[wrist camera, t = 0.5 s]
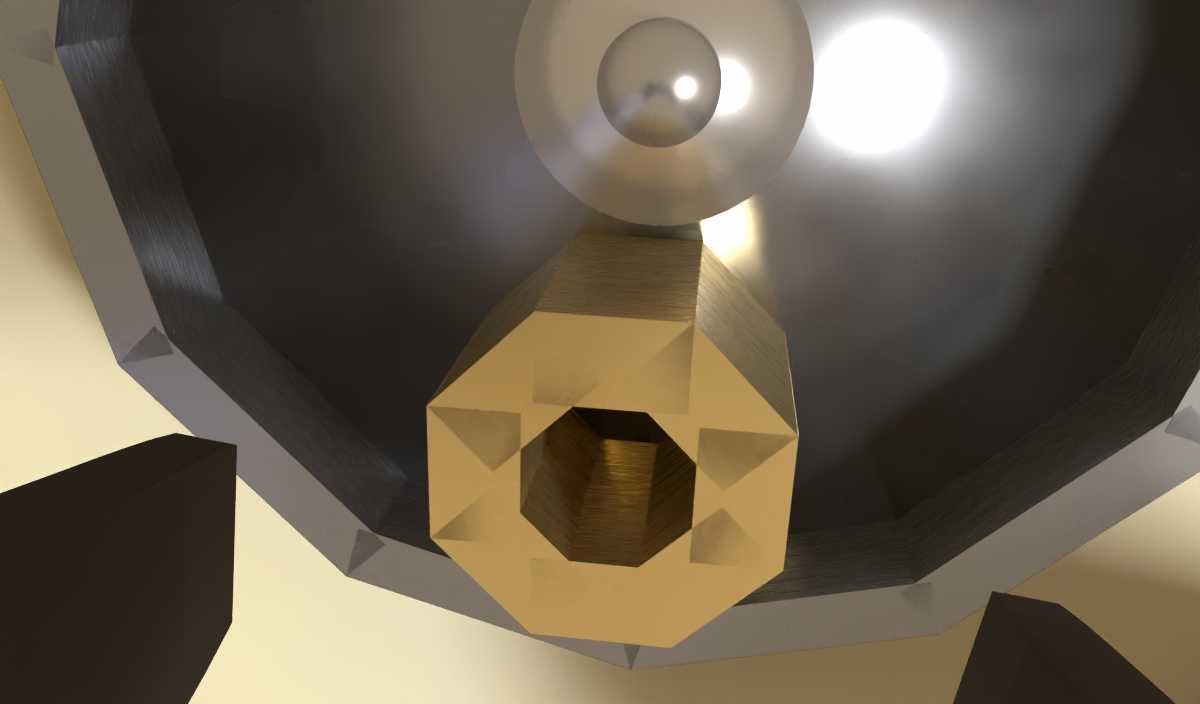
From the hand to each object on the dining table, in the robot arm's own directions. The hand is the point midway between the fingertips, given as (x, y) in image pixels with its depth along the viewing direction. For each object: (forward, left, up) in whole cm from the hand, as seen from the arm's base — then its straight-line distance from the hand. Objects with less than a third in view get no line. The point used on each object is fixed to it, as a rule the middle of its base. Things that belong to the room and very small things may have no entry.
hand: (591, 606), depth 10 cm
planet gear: (-1, -1, -8) cm, 8 cm away
